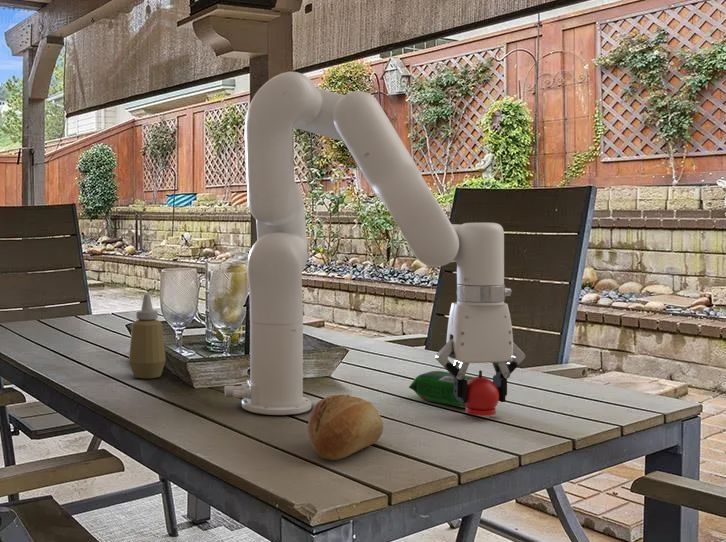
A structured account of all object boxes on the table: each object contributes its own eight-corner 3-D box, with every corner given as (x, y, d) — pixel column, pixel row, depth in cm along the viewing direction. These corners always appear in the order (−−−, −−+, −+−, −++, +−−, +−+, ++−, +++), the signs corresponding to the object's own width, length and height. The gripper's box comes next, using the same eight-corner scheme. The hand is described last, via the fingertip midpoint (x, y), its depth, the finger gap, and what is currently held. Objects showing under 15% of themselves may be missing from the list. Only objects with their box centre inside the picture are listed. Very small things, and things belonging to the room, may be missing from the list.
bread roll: (291, 459, 106) (291, 403, 106) (334, 434, 119) (334, 384, 119) (355, 471, 101) (355, 412, 101) (393, 444, 113) (393, 391, 113)
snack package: (478, 415, 131) (478, 385, 131) (406, 397, 143) (406, 370, 143) (502, 409, 135) (502, 380, 135) (429, 393, 147) (430, 366, 147)
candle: (471, 417, 125) (471, 374, 125) (455, 408, 131) (455, 367, 131) (505, 416, 125) (505, 373, 125) (489, 407, 131) (489, 366, 131)
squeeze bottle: (164, 380, 160) (164, 296, 160) (126, 380, 160) (126, 296, 160) (166, 372, 168) (166, 292, 168) (130, 373, 169) (130, 292, 168)
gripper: (518, 292, 132) (517, 394, 132) (422, 294, 131) (422, 397, 131) (540, 296, 125) (540, 404, 125) (439, 298, 123) (439, 407, 124)
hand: (480, 399), depth 128 cm, fingers closed on candle, 6 cm apart
